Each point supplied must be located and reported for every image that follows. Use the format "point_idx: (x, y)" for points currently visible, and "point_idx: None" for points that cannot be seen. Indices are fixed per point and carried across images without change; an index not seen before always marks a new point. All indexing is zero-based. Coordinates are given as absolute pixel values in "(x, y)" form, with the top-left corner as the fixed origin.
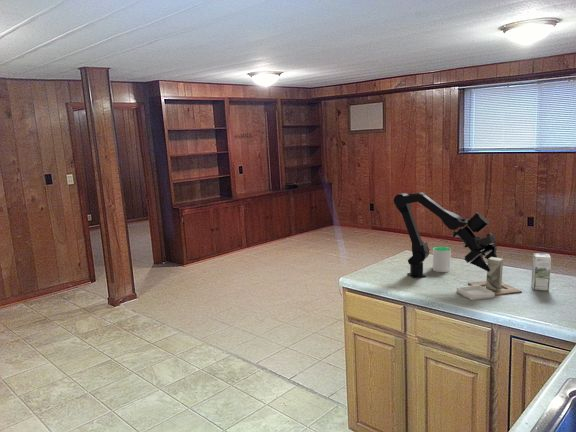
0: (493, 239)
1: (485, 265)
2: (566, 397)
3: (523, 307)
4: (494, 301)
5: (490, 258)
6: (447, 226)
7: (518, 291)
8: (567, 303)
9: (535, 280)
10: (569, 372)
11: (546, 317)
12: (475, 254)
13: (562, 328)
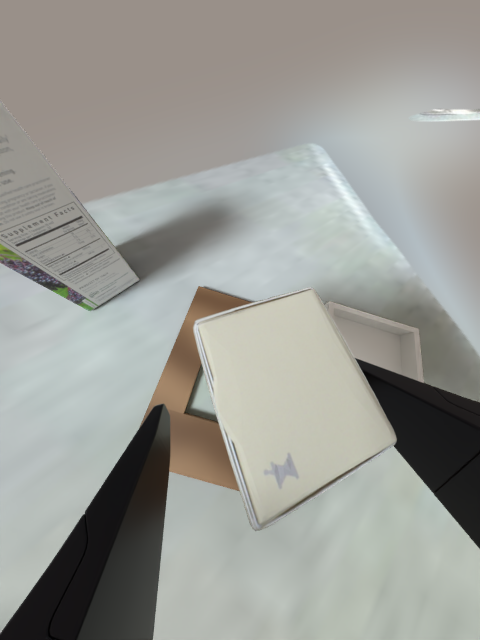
0: None
1: (405, 379)
2: (447, 109)
3: (303, 226)
4: (339, 289)
5: (357, 429)
6: None
7: (211, 290)
8: (184, 183)
9: (117, 250)
10: (413, 116)
11: (306, 178)
12: None
13: (322, 150)
